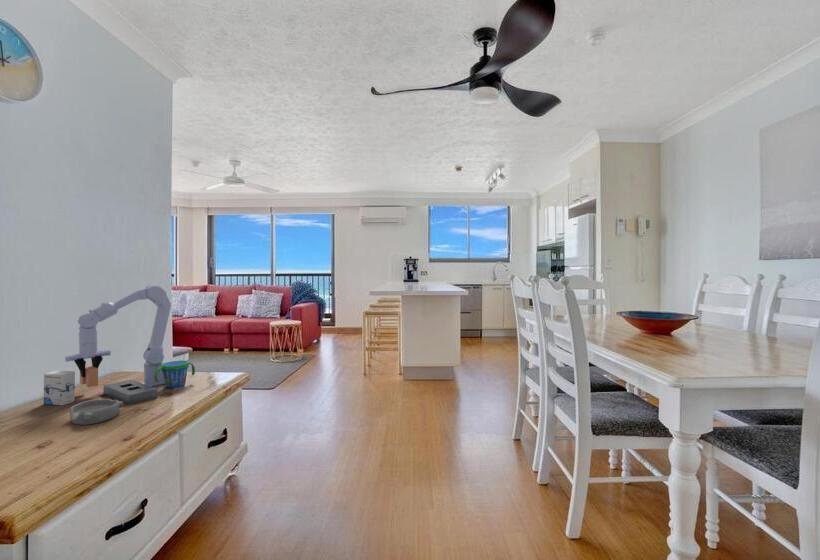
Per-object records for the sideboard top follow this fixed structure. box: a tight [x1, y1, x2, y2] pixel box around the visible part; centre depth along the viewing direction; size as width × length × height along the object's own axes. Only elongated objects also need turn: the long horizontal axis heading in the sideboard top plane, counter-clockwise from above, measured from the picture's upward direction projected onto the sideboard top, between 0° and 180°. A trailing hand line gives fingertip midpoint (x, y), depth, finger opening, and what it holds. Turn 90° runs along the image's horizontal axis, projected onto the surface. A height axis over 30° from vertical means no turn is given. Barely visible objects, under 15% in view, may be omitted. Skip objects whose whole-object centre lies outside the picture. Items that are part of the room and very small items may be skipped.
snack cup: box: [154, 360, 196, 389], centre depth 173 cm, size 16×10×10 cm
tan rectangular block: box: [79, 364, 99, 388], centre depth 161 cm, size 3×10×7 cm, turn 56°
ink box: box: [43, 370, 76, 406], centre depth 151 cm, size 9×5×12 cm, turn 84°
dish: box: [69, 398, 124, 426], centre depth 136 cm, size 14×14×5 cm
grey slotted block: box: [103, 379, 158, 405], centre depth 160 cm, size 10×24×4 cm, turn 56°
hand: (88, 375), depth 161 cm, fingers closed on tan rectangular block, 3 cm apart
